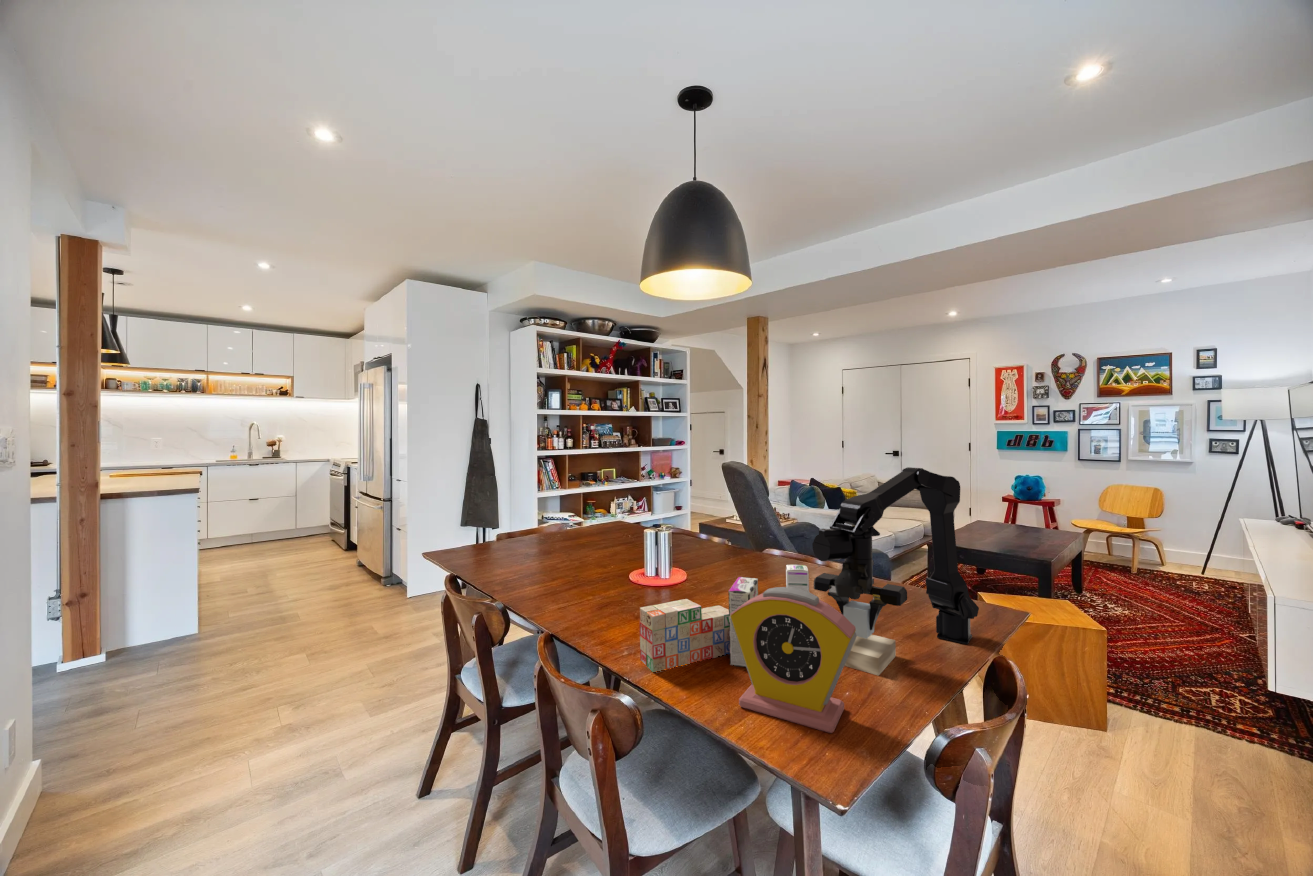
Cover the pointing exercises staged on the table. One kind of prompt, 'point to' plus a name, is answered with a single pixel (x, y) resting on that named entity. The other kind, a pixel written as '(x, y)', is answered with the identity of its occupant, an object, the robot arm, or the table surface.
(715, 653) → the stack of blocks
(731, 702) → the table surface
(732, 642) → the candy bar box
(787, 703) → the yellow mantel clock
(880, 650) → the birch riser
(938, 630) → the robot arm
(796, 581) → the syrup box
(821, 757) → the table surface
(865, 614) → the slate block
